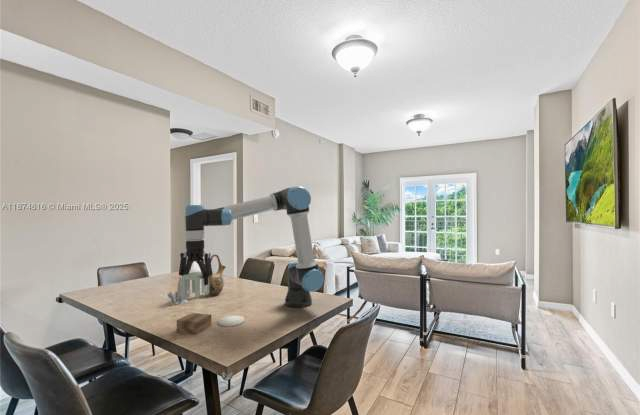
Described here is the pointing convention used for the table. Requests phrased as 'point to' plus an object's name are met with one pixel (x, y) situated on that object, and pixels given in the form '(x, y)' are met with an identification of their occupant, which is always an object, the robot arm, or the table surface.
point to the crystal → (178, 295)
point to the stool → (193, 283)
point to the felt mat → (231, 321)
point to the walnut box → (194, 323)
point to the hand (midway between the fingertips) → (195, 291)
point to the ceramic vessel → (216, 279)
